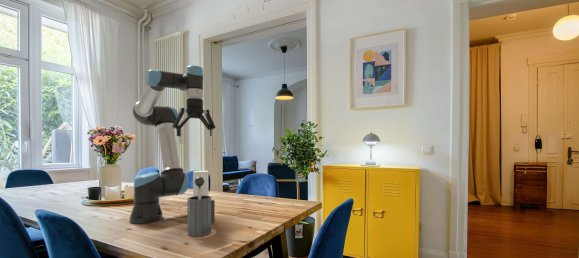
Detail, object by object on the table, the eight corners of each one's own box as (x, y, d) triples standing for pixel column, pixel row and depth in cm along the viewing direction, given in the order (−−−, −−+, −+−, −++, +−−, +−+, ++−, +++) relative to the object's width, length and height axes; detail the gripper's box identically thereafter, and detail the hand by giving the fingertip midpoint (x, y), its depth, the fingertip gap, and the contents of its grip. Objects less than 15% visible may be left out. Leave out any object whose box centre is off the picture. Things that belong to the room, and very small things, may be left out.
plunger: (189, 222, 120) (189, 177, 121) (202, 219, 125) (202, 175, 125) (196, 225, 116) (196, 178, 117) (209, 222, 120) (209, 176, 121)
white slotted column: (204, 225, 134) (204, 172, 136) (190, 224, 136) (190, 171, 137) (211, 220, 141) (211, 170, 143) (198, 220, 143) (198, 170, 144)
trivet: (176, 235, 120) (176, 233, 120) (206, 227, 130) (206, 226, 130) (190, 243, 110) (190, 241, 110) (222, 234, 120) (222, 233, 120)
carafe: (183, 233, 120) (183, 197, 121) (208, 227, 128) (208, 194, 129) (193, 238, 113) (193, 201, 114) (219, 232, 121) (219, 196, 122)
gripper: (171, 95, 124) (171, 143, 123) (222, 100, 141) (222, 143, 140) (165, 97, 129) (164, 143, 128) (214, 101, 146) (214, 143, 145)
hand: (194, 143), depth 134 cm, fingers open, 13 cm apart
